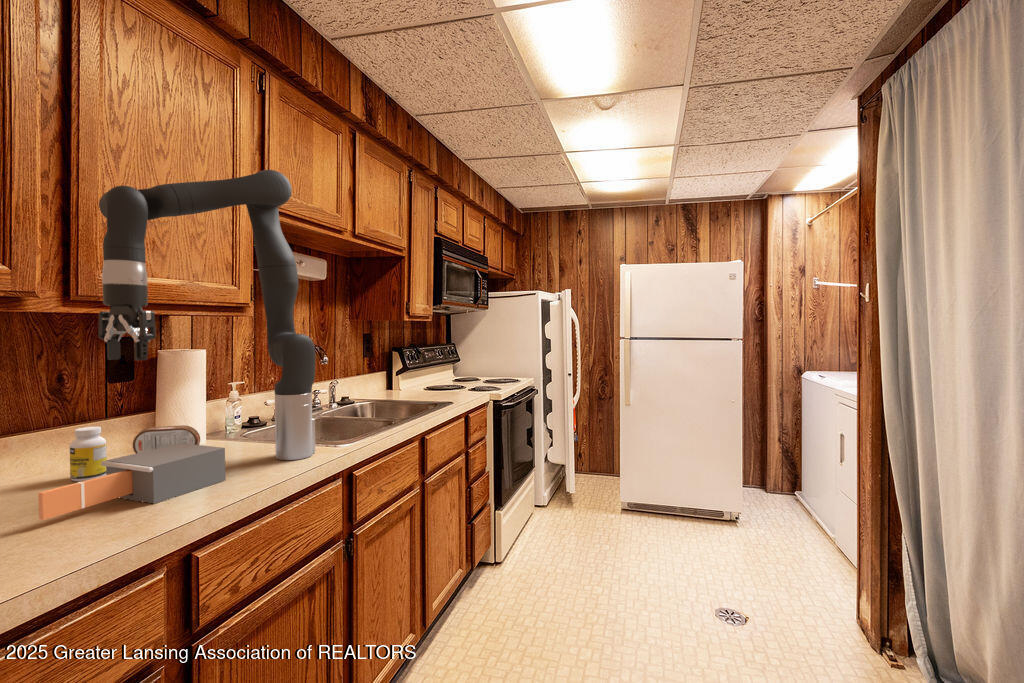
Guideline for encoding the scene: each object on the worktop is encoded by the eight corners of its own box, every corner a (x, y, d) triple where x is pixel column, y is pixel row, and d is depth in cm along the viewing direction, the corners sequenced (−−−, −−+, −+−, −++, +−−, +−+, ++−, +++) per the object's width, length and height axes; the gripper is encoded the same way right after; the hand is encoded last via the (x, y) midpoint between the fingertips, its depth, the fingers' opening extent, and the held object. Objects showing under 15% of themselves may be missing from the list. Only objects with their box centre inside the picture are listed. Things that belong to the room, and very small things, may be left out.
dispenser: (181, 474, 117) (180, 443, 117) (225, 480, 112) (224, 447, 112) (101, 497, 101) (100, 461, 101) (148, 505, 96) (147, 467, 96)
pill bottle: (65, 479, 113) (63, 429, 113) (98, 472, 119) (97, 424, 119) (78, 484, 110) (76, 432, 110) (112, 476, 116) (111, 427, 116)
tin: (200, 453, 137) (200, 423, 137) (198, 456, 134) (197, 425, 134) (135, 458, 132) (134, 427, 131) (131, 461, 129) (130, 429, 129)
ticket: (145, 487, 103) (144, 465, 103) (149, 488, 103) (149, 465, 103) (38, 519, 86) (38, 492, 86) (43, 520, 86) (42, 493, 86)
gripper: (166, 283, 105) (168, 359, 106) (122, 286, 110) (123, 358, 111) (129, 280, 98) (131, 361, 99) (83, 283, 103) (85, 360, 104)
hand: (127, 359), depth 105 cm, fingers open, 8 cm apart
